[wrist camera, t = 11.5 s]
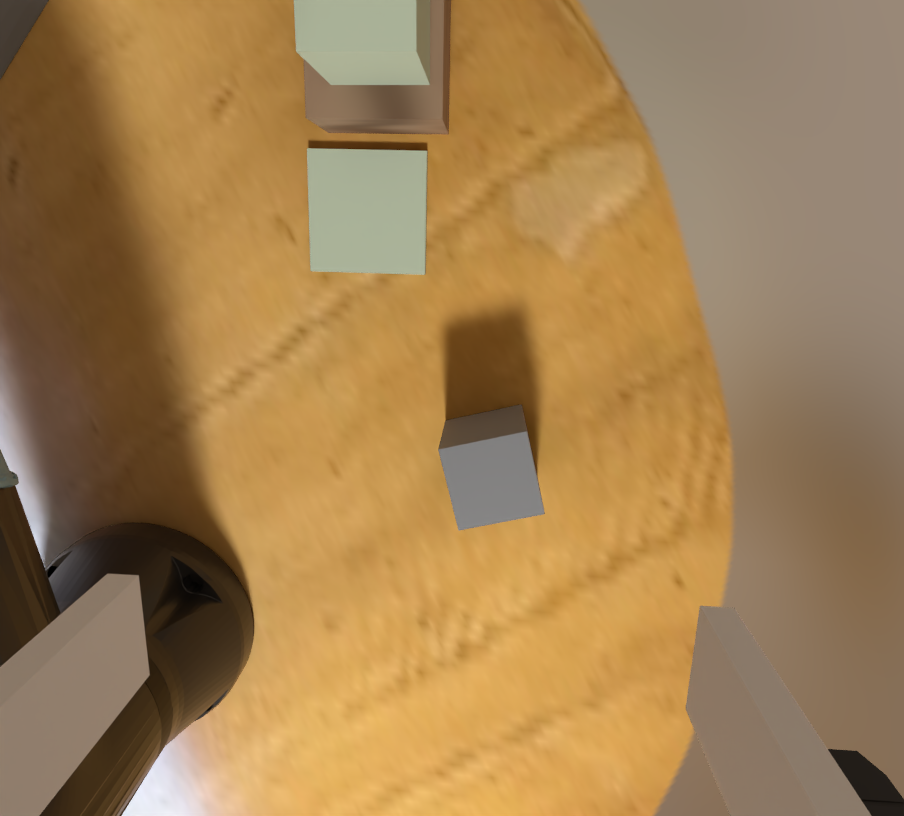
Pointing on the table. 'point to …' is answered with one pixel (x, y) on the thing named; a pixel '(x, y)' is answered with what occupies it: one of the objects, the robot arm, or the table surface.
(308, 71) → the walnut base
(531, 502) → the gray block
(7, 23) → the slim gray ramp strip
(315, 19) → the sage block
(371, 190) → the tile
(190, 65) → the table surface
